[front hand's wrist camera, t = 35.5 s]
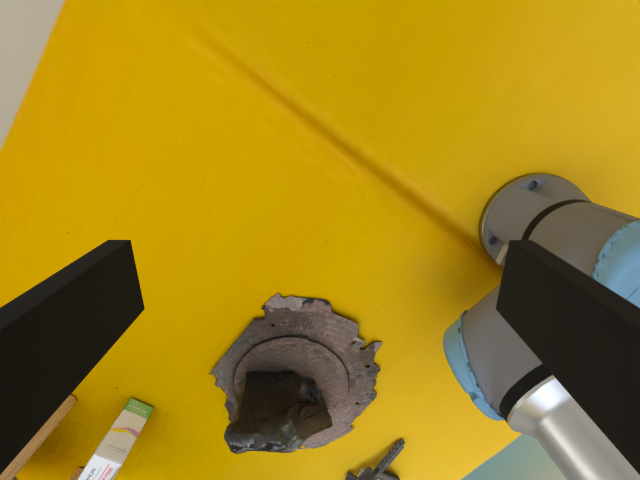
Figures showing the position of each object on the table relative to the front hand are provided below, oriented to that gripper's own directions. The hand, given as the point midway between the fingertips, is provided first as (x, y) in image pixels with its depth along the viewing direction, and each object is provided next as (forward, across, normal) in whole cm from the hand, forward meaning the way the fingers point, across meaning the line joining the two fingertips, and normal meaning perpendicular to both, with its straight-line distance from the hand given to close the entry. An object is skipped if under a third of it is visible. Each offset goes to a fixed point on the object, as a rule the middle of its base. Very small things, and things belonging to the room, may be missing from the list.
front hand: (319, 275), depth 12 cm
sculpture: (+41, +4, +42) cm, 59 cm away
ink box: (+41, +36, +51) cm, 74 cm away
